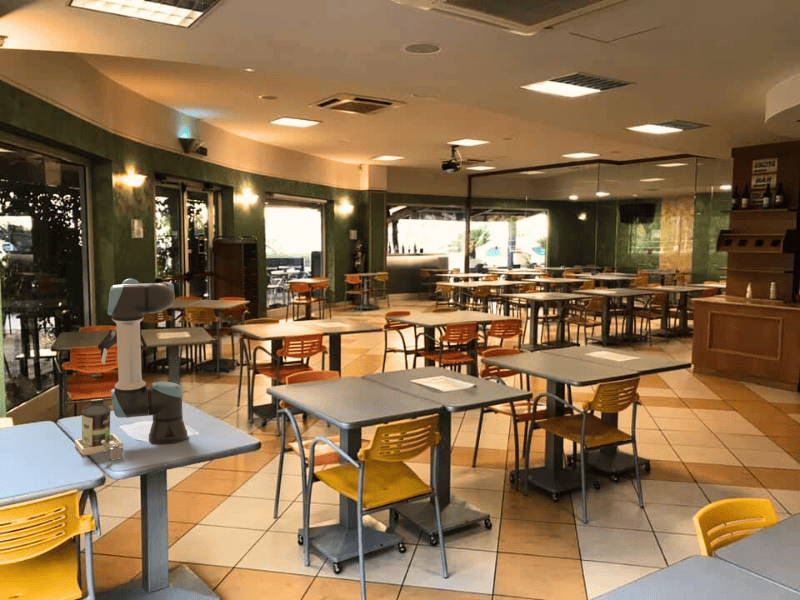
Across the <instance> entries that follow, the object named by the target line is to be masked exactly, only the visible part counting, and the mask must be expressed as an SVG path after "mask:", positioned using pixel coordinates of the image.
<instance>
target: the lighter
mask: <svg viewBox="0 0 800 600" xmlns="http://www.w3.org/2000/svg"><path fill="white" fill-rule="evenodd" d="M101 443H102V445H103V446H104V448H105V449H106V451H109V450H110V451H109V460H110V459H111V460H112V461H114V460H113V459H117V460H119V459H118V458H122V459H123V449H122V447H121V446H120V445H113V448H110V447H109V446H108V444H107V442H106V441H105V440H103V441H101ZM111 460H110V461H111Z"/></svg>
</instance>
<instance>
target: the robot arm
mask: <svg viewBox="0 0 800 600" xmlns="http://www.w3.org/2000/svg"><path fill="white" fill-rule="evenodd" d="M108 296H109V297H108V302H107V303H108V305H107V315H109V316H111V320H112V321H113V322H114V323H115V325H116V330H115V331H113V330H111V329H110V330H108V333H107V334H106V336H104V338H103V339H102V340H101V341H100V342H99V343H98V345H97V349H98V351H100V357H101V360H100V362H101V363H102V365H105V364H106V361H107V360H106V359H107V355H108V350H110V349H111V347H112V346H114V345H115V344H117V369H118V370H117V374H118V381H117V382H116V383H115V384H114V388H113V389H111V390H110V396H111V402H112V403H111V404H112V408H113V413H114V416H116V417H117V418H119V419H123V418H126V419H129V418H136V417H137V418H139V417H146V416H147V417H148V416H152V424H151V427H150V430H149V433H148V441H149V442H150V443H151V444H157V445H166V444H175V443H179V442H182V441H185V440H186V439H188V430H187V429H186V428H187V427H186V425H185V421H184V417H183V416H184V415H183V392H182V391H183V389H182V387H181V385H180V384H178V383H176V382H169V381H154V382H152V383H151V386H147V384H146V383H147V382H146V381H144V380H143V379H142V378H143V377H142V376H143V375H142V356H143V351H145V350H148V345H147V343H146V341H145V337H144V336H143V332H142V329H141V322H142V321H143V320H144V318H145V315H146V314H147V315H148V314H155V313H160V312H163V311H165V310H167V309H169V308H171V307H172V306H173V304H174V303H175V300H176V294H175V285H174V283H172V282H158V283H157V282H156V283H151V282H150V283H149V282H148V283H141V282H139V281H138V280H137V279H134V278H127V279H125V280H123V281H122V283H121V284H114V285H112V286H111V287H110V290H109V295H108ZM144 314H145V315H144Z"/></svg>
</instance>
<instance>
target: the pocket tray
mask: <svg viewBox="0 0 800 600" xmlns="http://www.w3.org/2000/svg"><path fill="white" fill-rule="evenodd" d="M123 444H124V443H123V442H122V440H121V439H120V438H119V437H117V435H116V434H115V433H110V443H109V444H108V446H109V447H110V448H113V445H120V446H121V447H122V450H123V449H124V445H123ZM74 448H76V449H78V450H77V451H78V452H79V454H80V453H81V454H82V455H85V456H91V455H95V453H97V454H101V453H100V452H103V453H106V452H107V451H106V449H105V448H104V446H103V445H101V446H95V447H89V448H87V447H85V446H83V445H82V438H79V439H74ZM109 452H110V450H109ZM107 453H108V452H107ZM81 454H80V455H81ZM82 455H81V456H82Z"/></svg>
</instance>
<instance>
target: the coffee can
mask: <svg viewBox="0 0 800 600" xmlns="http://www.w3.org/2000/svg"><path fill="white" fill-rule="evenodd" d="M81 414H82V415H81V427H82V428H81V439H82V445H83V446H85V447H87V448H89V447H95V446H101V445H102V443H101V441H103V440H105V441H106V442H107V444H109V443H110V434H111V407H110V406H109V405H106V404H98V403H97V404H89V405H86V406H84V407H83V408H82V409H81Z"/></svg>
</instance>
